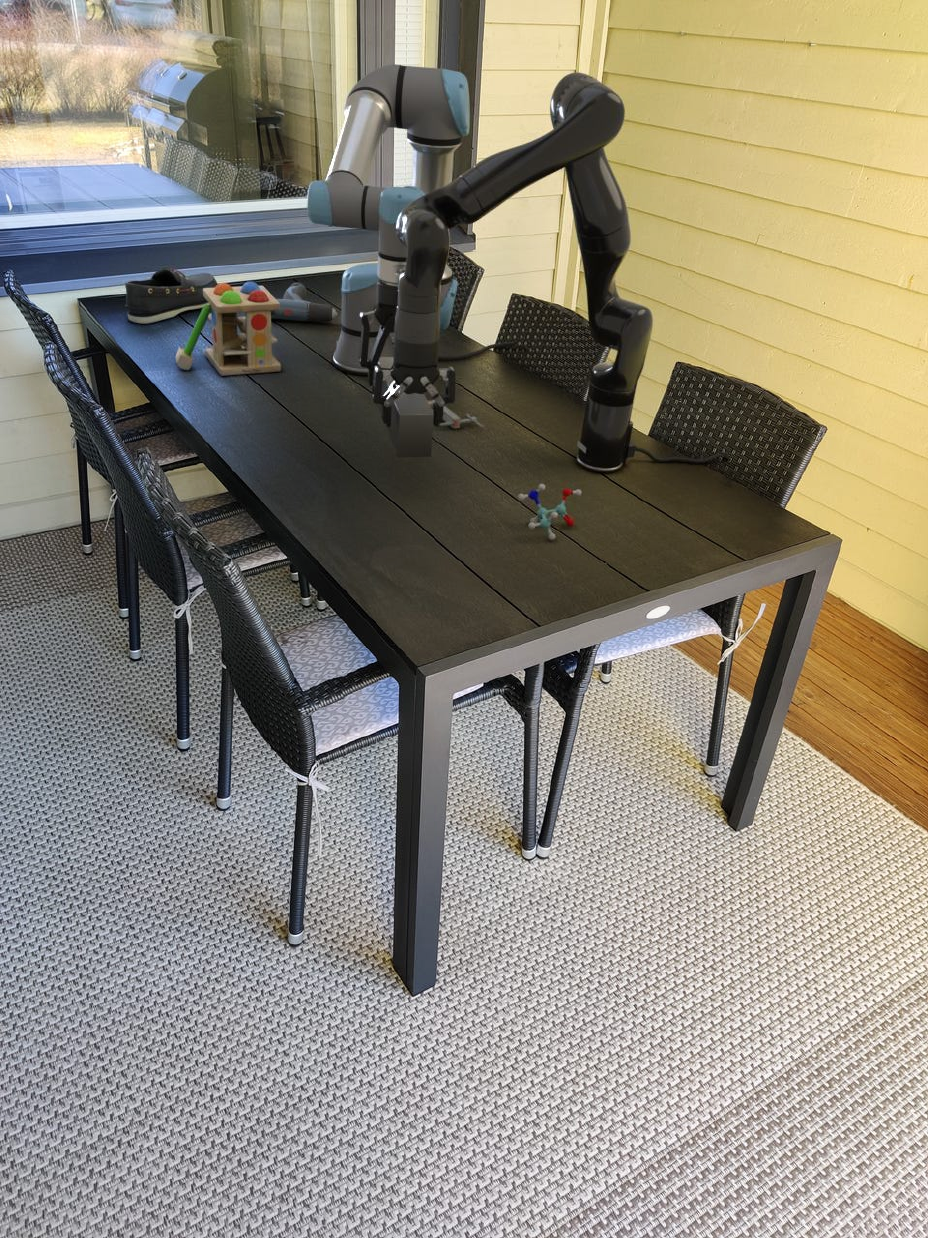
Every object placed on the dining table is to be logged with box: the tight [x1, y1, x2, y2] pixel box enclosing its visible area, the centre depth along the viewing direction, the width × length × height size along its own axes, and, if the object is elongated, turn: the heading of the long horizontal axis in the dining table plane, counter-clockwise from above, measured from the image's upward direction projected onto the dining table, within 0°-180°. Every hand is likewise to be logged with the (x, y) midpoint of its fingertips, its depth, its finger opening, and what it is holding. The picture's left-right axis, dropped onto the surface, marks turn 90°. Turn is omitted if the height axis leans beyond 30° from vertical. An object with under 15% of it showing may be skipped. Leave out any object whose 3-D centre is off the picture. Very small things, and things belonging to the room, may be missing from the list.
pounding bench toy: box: [174, 281, 282, 377], centre depth 225 cm, size 23×14×18 cm, turn 116°
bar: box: [377, 357, 434, 459], centre depth 182 cm, size 27×6×8 cm, turn 13°
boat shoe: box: [124, 266, 218, 324], centre depth 259 cm, size 13×33×10 cm, turn 147°
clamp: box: [427, 399, 486, 430], centre depth 213 cm, size 15×2×10 cm
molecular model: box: [517, 483, 582, 541], centre depth 175 cm, size 12×10×10 cm
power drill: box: [271, 282, 338, 322], centre depth 265 cm, size 5×19×20 cm
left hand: (392, 400), depth 192 cm, fingers closed on bar, 6 cm apart
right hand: (412, 424), depth 173 cm, fingers open, 8 cm apart
